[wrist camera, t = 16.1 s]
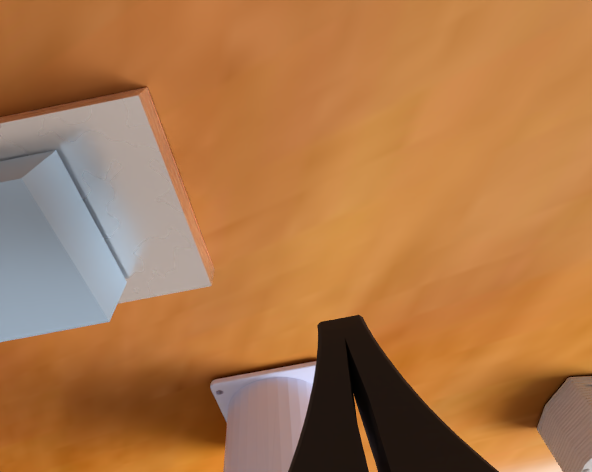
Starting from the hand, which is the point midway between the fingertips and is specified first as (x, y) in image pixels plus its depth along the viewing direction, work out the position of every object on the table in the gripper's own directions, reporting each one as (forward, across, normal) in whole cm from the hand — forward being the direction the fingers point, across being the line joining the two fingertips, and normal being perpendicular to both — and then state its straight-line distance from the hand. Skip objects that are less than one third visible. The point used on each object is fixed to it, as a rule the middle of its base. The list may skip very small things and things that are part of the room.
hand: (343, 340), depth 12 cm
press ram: (+8, +14, -2) cm, 16 cm away
